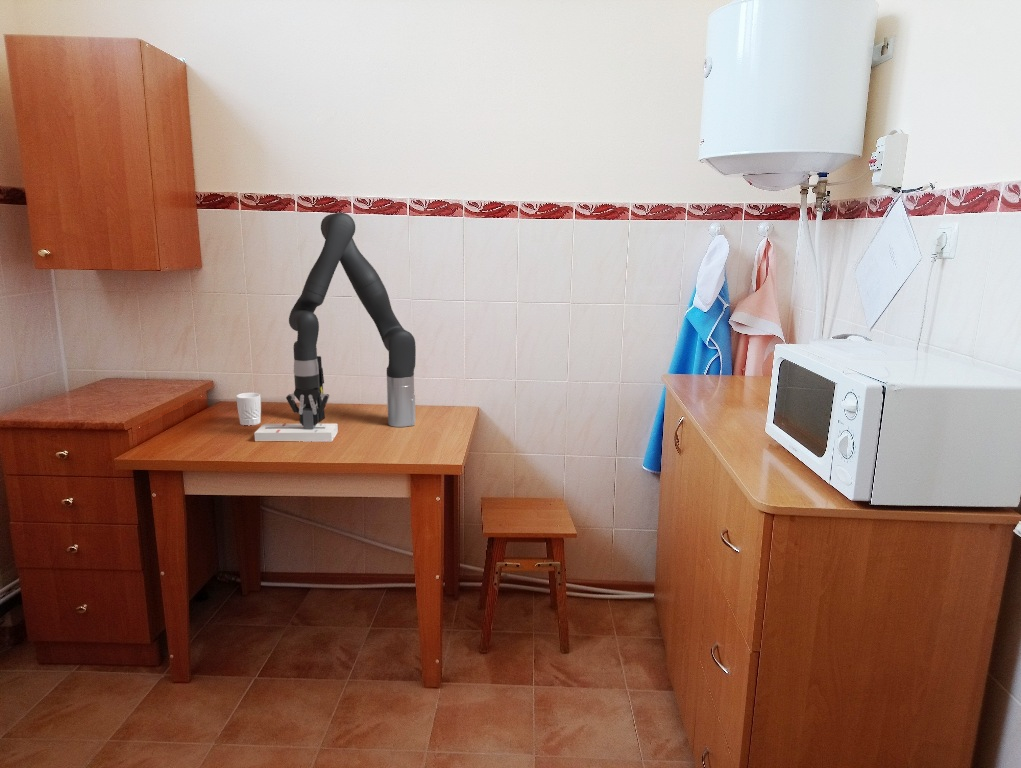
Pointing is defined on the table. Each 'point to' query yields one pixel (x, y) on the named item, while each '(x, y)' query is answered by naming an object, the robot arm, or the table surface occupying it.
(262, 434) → the panel
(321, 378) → the portable radio
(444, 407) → the table surface
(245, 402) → the white cup
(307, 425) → the fader tab
